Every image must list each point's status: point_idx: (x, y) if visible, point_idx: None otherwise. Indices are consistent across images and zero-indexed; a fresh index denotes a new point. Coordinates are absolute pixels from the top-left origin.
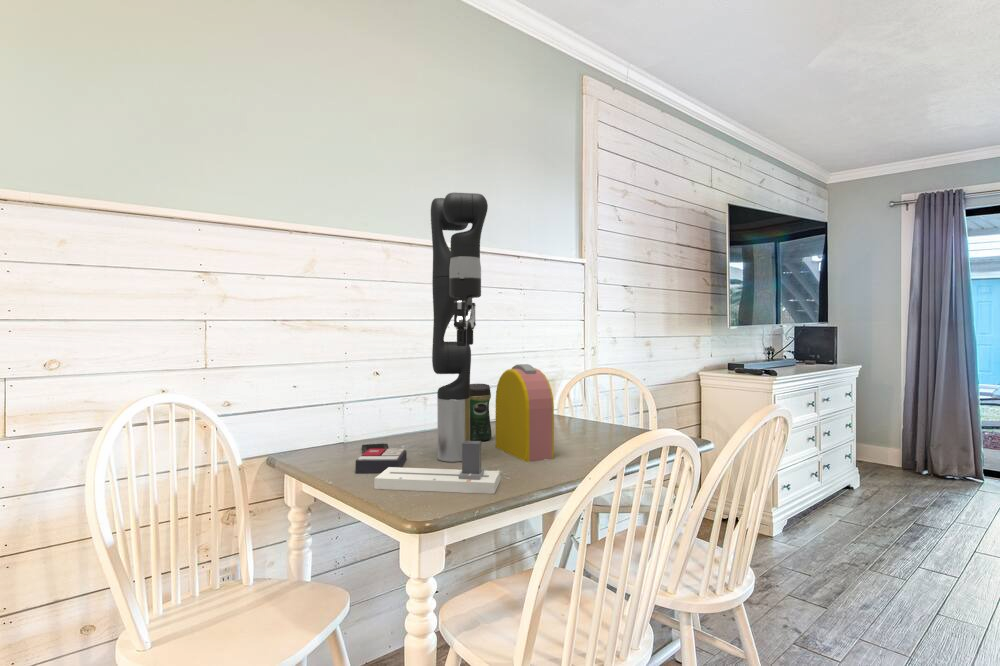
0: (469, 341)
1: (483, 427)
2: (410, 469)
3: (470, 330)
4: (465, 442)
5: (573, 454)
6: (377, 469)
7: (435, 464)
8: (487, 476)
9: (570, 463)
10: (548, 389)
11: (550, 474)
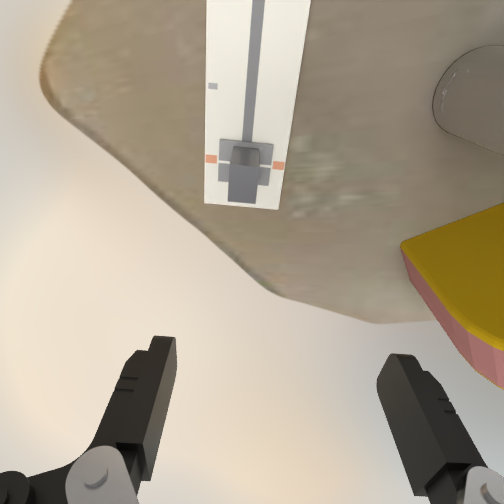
0: (387, 390)
1: None
2: (295, 1)
3: (420, 480)
4: (239, 170)
5: None
6: None
7: (425, 50)
8: None
9: (374, 301)
10: (496, 382)
11: (314, 273)
